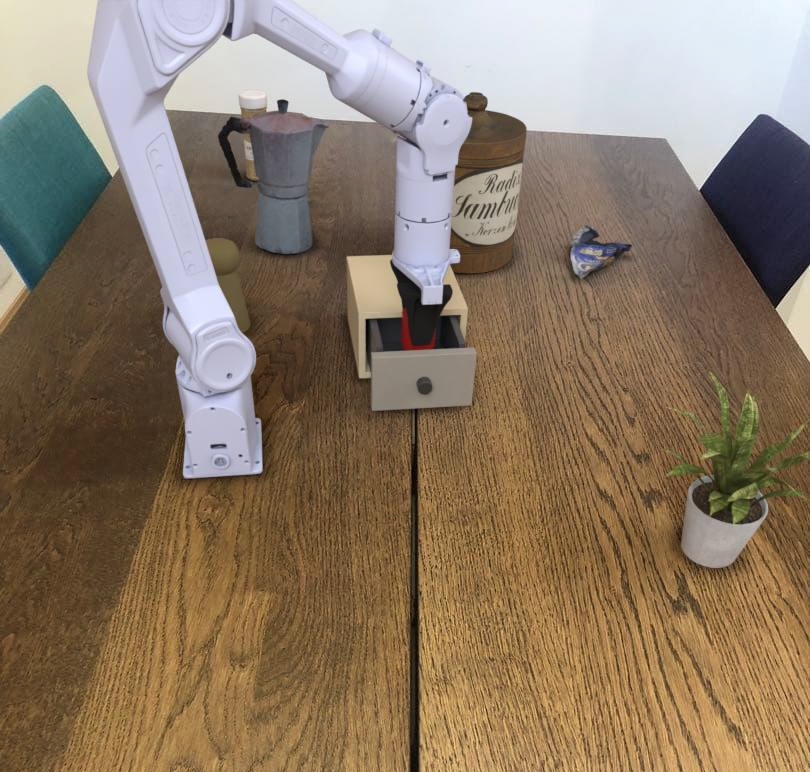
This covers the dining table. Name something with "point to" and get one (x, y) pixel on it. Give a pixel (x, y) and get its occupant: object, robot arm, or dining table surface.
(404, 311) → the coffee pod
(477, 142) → the wooden container
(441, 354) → the drawer
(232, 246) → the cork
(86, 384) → the dining table surface
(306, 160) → the moka pot
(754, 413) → the house plant
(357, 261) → the mini drawer chest
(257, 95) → the sprinkles bottle
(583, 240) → the snack package
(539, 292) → the dining table surface
